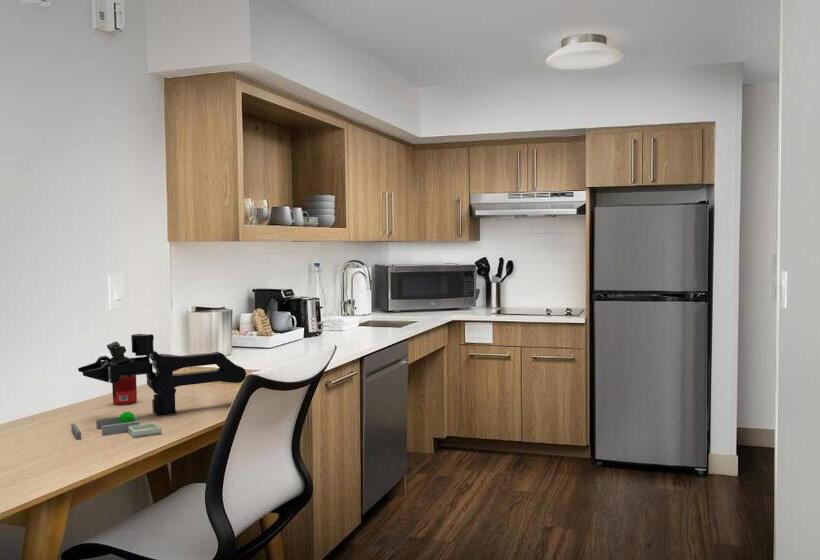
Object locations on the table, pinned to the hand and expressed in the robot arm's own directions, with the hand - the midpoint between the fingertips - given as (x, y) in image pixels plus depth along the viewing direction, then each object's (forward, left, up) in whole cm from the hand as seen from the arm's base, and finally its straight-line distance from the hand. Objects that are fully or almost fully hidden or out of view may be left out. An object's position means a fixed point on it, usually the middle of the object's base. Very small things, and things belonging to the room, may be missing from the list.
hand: (80, 371), depth 236 cm
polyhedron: (-11, +13, -17) cm, 24 cm away
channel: (-5, +13, -16) cm, 22 cm away
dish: (-14, +23, -16) cm, 31 cm away
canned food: (-17, -24, -17) cm, 34 cm away
